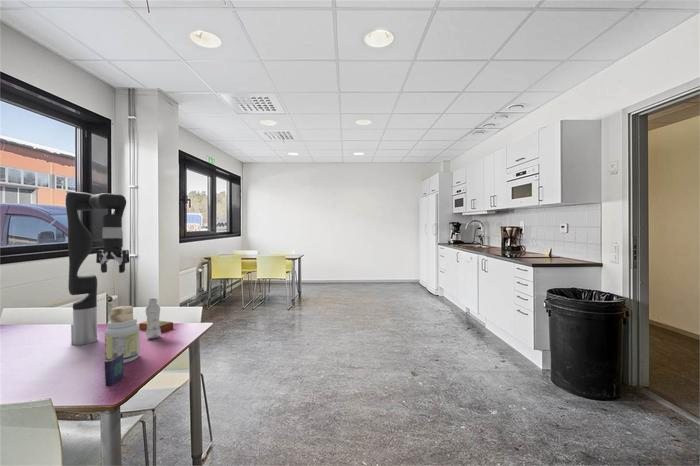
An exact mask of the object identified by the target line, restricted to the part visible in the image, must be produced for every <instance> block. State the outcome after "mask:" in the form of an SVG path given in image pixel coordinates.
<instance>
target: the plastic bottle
mask: <svg viewBox="0 0 700 466" xmlns="http://www.w3.org/2000/svg"><path fill="white" fill-rule="evenodd" d="M145 314H146V315H145V316H146V321H147V330H146V331H145V337H146V338H147V339H150V340H151V339H158V338H159V337H160V336H161V334H162V333H161V329H160V324H159V321H160V314H161V306H159V304H158V299H157V298H149V299H148V305H147V307H145Z"/></svg>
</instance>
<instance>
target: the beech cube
mask: <svg viewBox="0 0 700 466" xmlns="http://www.w3.org/2000/svg"><path fill="white" fill-rule="evenodd" d="M133 317H134V306H133V305H120V306H116V307H113V308H111V309H110V321H111V322H125V321H128V320H131V319H133Z"/></svg>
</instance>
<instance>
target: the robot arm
mask: <svg viewBox="0 0 700 466" xmlns="http://www.w3.org/2000/svg"><path fill="white" fill-rule="evenodd" d="M126 207H127V200H126V197H125V196H124V195H123V194H117V193H108V192H107V193H106V192H105V193H97V194H93V193H88V192H81V191H68V192H67V193H66V195H65V208H66V209H65V211H66V216H67V242H68V243H67V244H68V245H67V248H68V262H69V263H68V266H69V267H68V286H67V287H68V292H69V294H70V295H71V296H79V295H87V296H86V297H84V298H82V299H80V300H77V301H76V302H74V303H72V324H71V325H70V329H71V330H70V332H71V335H70V337H71V340H70V341H71V344H72V345H74V346H83V345H87V344H88V345H89V344H92V343H94V342H97V341H98V303H97V301H98V300H97V299H98V297H97V294H98V278H97V276H96V275H95V274H86V275H85V274H84V275H78V272H79V270H80V268H81V266H82V264H83V263H84V261H85V260H86V259H87V257H88V256H89V255H90V253H91V251H92V250H93V236H92V234H91V231H89V230H88V228H87V227H86V226H85V225H84V224H83V222H82V221H81V219H80V217H79V212H78V211H81V212H82V211H83V212H84V211H85V212H88V211H93V210H114V212H113V213H110V214H109V213H108V214H104V215H103V216H102V232H101V235H102V238H101V239H102V241H101V242H102V248H103V249H98V250H96V258H95V260H96V264H100V271H101V273H103V274H105V273H107V272H108V264H107V263H108V262H110V260H115V261H116V262H118V273H119V274H123V273H124V272H125V271H126V264H129V263H130V251H129V249H122V248H123V247H124V246H123V244H124V243H123V242H124V240H123V239H124V237H123V234H124V233H123V216H124V213H125V210H126Z"/></svg>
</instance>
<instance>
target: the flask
mask: <svg viewBox="0 0 700 466" xmlns="http://www.w3.org/2000/svg"><path fill="white" fill-rule="evenodd" d="M112 353H114V354H113V355H112V357H111V358H110V359H109V358H108V360H106V361H105V360H104V379H105V382H104V383H105V386H110V387H112V386H114V385H116V384H117V383H118V382H119V381H121V380H122V379H123V378H124V375H125V372H124V363H123V353H119V352H112ZM116 382H117V383H116ZM115 383H116V384H115ZM113 384H114V385H113ZM111 385H112V386H111Z"/></svg>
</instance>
